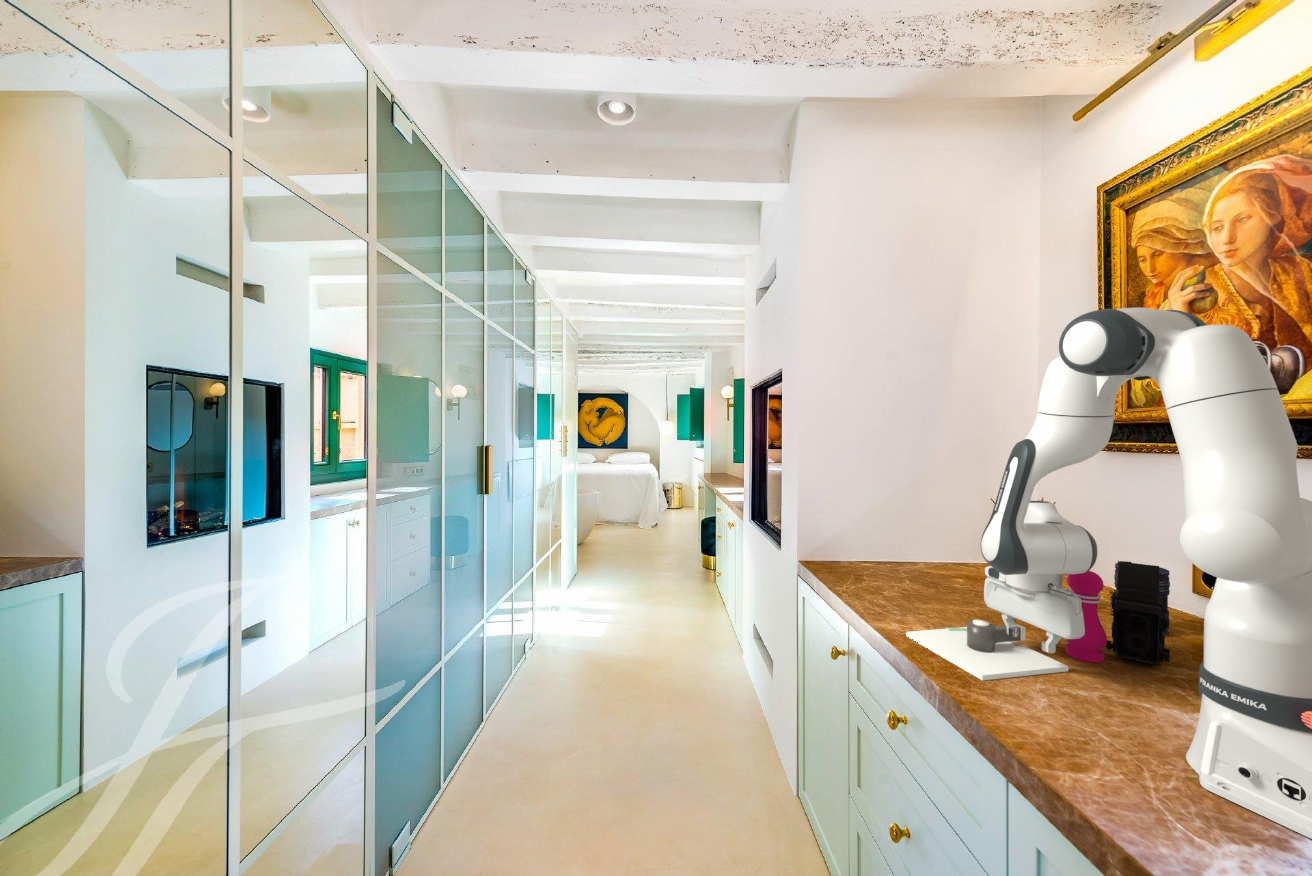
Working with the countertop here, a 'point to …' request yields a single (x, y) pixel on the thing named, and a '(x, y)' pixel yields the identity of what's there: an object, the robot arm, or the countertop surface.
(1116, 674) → the countertop surface
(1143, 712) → the countertop surface
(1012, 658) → the tuner board
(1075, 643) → the pepper mill
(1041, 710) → the countertop surface
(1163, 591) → the storage jar
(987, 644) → the dial
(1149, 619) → the camera
